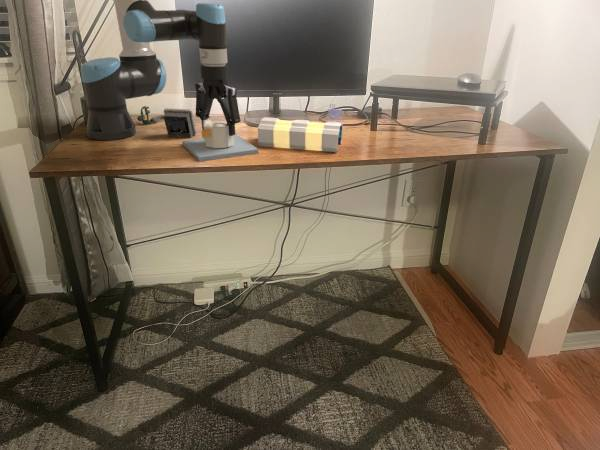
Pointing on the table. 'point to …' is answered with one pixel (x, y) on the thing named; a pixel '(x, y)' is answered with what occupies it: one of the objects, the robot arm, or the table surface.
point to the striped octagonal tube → (302, 133)
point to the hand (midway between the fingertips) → (219, 143)
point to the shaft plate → (208, 153)
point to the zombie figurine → (152, 120)
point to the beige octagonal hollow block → (214, 134)
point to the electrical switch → (179, 123)
